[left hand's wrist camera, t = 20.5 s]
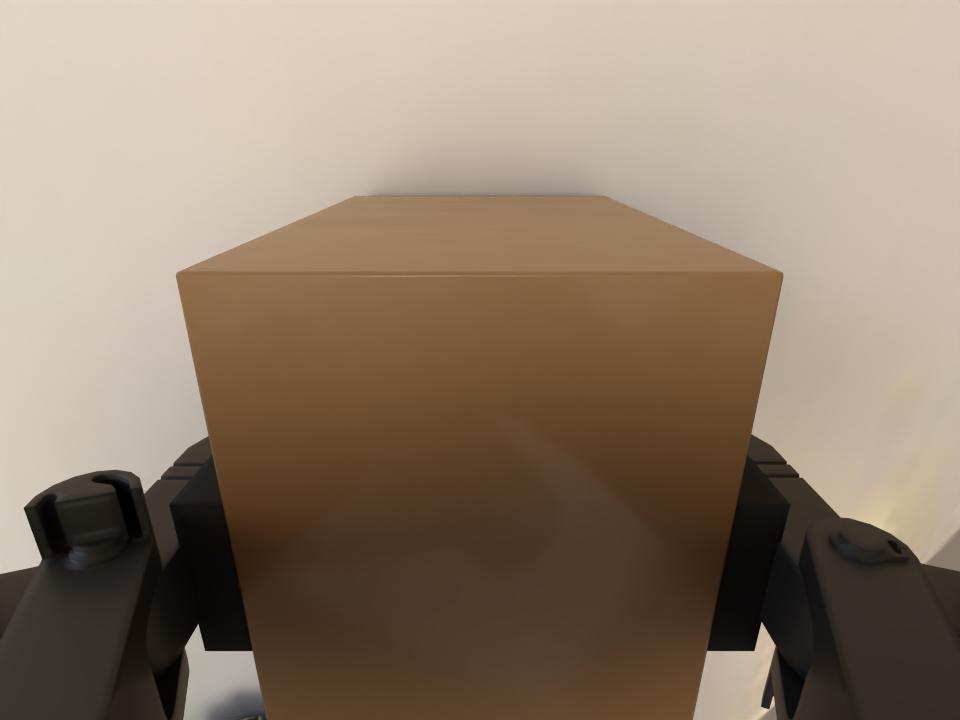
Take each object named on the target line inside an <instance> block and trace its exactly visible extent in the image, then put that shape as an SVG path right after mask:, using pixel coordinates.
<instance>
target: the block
mask: <svg viewBox="0 0 960 720" xmlns="http://www.w3.org/2000/svg"><path fill="white" fill-rule="evenodd" d="M176 278H177V283H178V288H179V293H180V298H181V303H182V308H183V313H184V317H185V322H186V327H187V332H188V337H189V342H190V347H191V352H192V357H193V361H194V366H195V371H196V376H197V381H198V386H199V391H200V396H201V401H202V405H203V410H204V415H205V420H206V425H207V430H208V435H209V440H210V444H211V449H212V454H213V459H214V464H215V469H216V474H217V479H218V484H219V488H220V493H221V498H222V503H223V508H224V513H225V518H226V523H227V528H228V532H229V537H230V542H231V547H232V552H233V557H234V562H235V567H236V571H237V576H238V581H239V586H240V591H241V596H242V601H243V606H244V611H245V615H246V620H247V625H248V630H249V635H250V640H251V645H252V650H253V655H254V659H255V664H256V669H257V674H258V679H259V684H260V689H261V694H262V698H263V703H264V708H265V713H266V718H267V720H693V716H694V711H695V706H696V701H697V697H698V692H699V687H700V682H701V677H702V672H703V667H704V662H705V657H706V653H707V648H708V643H709V638H710V633H711V628H712V623H713V618H714V613H715V608H716V604H717V599H718V594H719V589H720V584H721V579H722V574H723V569H724V564H725V560H726V555H727V550H728V545H729V540H730V535H731V530H732V525H733V520H734V515H735V511H736V506H737V501H738V496H739V491H740V486H741V481H742V476H743V471H744V467H745V462H746V457H747V452H748V447H749V442H750V437H751V432H752V427H753V422H754V418H755V413H756V408H757V403H758V398H759V393H760V388H761V383H762V378H763V374H764V369H765V364H766V359H767V354H768V349H769V344H770V339H771V334H772V329H773V325H774V320H775V315H776V310H777V305H778V300H779V295H780V290H781V285H782V281H783V273H782V272H780V271H778V270H776V269H773V268H771V267H769V266H766V265H764V264H762V263H759V262H757V261H755V260H752V259H750V258H748V257H745V256H743V255H741V254H738V253H736V252H734V251H731V250H729V249H727V248H724V247H722V246H720V245H717V244H715V243H713V242H710V241H708V240H706V239H703V238H701V237H699V236H696V235H694V234H692V233H689V232H687V231H685V230H682V229H680V228H678V227H675V226H673V225H671V224H668V223H666V222H664V221H661V220H659V219H657V218H654V217H652V216H650V215H647V214H645V213H643V212H640V211H638V210H636V209H633V208H631V207H629V206H626V205H624V204H622V203H619V202H617V201H615V200H612V199H610V198H608V197H605V196H354V197H352V198H350V199H347V200H345V201H343V202H340V203H338V204H336V205H333V206H331V207H329V208H326V209H324V210H322V211H319V212H317V213H315V214H312V215H310V216H308V217H305V218H303V219H301V220H298V221H296V222H294V223H291V224H289V225H287V226H284V227H282V228H280V229H277V230H275V231H273V232H270V233H268V234H266V235H263V236H261V237H259V238H256V239H254V240H252V241H249V242H247V243H245V244H242V245H240V246H238V247H235V248H233V249H231V250H228V251H226V252H224V253H221V254H219V255H217V256H214V257H212V258H210V259H207V260H205V261H203V262H200V263H198V264H196V265H193V266H191V267H189V268H186V269H184V270H182V271H179V272H177V274H176Z"/></svg>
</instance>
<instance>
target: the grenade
mask: <svg viewBox="0 0 960 720" xmlns="http://www.w3.org/2000/svg"><path fill="white" fill-rule="evenodd" d="M235 720H267V718H265V717H262V716H260V715H258V716H252V717H246V718H240V719H235Z"/></svg>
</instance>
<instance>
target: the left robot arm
mask: <svg viewBox="0 0 960 720" xmlns="http://www.w3.org/2000/svg"><path fill="white" fill-rule="evenodd" d="M24 510H25V513H26V516H27V519H28V521H29V524H30V527H31V530H32V532H33V535H34V538H35V541H36V543H37V546H38V549H39V552H40V554H41V557H42V561H41V563H40V565H39V566H37V567H33V568H28V569H23V570H18V571H13V572H9V573H4V574H0V720H183V716H184V709H185V701H186V693H187V686H188V678H189V665H188V658H187V655H186V651H185V646H186V644H187V642H188V640H189V639H190V637H191V635H192V634H193V632H194V630H195V628H196V627H197V625H198V624H199V628H200V632H201V636H202V640H203V644H204V648H205V651H253V650H252V645H251V640H250V635H249V630H248V625H247V620H246V615H245V611H244V606H243V601H242V596H241V591H240V586H239V581H238V576H237V571H236V567H235V562H234V557H233V552H232V547H231V542H230V537H229V532H228V528H227V523H226V518H225V513H224V508H223V503H222V498H221V493H220V488H219V484H218V479H217V474H216V469H215V464H214V459H213V454H212V449H211V444H210V440H209V436H208V437H206V438H205V439H203V440H201V441H199V442H198V443H196V444H194V445H193V446H191V447H189V448H188V449H187V450H186V451H185V452H184V453H183V454H182V455H181V456H180V457H179V458H178V459H177V460H176V461H175V462H174V463H173V467H170V468H169V469H168V470H167V471H166V472H165V473H164V474H163V475H162V476H161V480H157V481H156V482H155V483H154V484H153V485H152V487H151V488H150V489H149V490H148V491H147V492H146V493H145V494H144V493H143V489H142V485H141V481H140V478H139V477H137V476H136V475H134V474H133V473H132V472H127V471H120V470H108V471H96V472H92V473H88V474H84V475H80V476H76V477H73V478H70V479H68V480H65V481H63V482H60V483H58V484H55V485H53V486H51V487H50V488H48V489H46V490H45V491H43V492H42V493H40V494H38V495H37V496H35V497H34V498H33V499H32V500H31V501H30V502H29V503H28V504H27V505H26V506H25V507H24ZM761 622H762V623H763V625H764V626H765V628H766V630H767V631H768V633H769V635H770V636H771V638H772V640H773V642H774V643H775V645H776V647H775V651H774V655H773V658H772V662H771V666H770V670H769V673H768V677H767V681H766V685H765V689H764V692H763V697H762V704H761V707H763V708H767V709H769V708H770V704H771V701H772V697H773V696H774V700H775V707H776V715H777V720H960V572H959V571H954V570H949V569H944V568H940V567H935V566H930V565H925V564H921V563H920V562H919V560H918V558H917V557H916V556H915V554H914V553H913V552H912V551H911V550H910V548H909V547H908V546H907V545H906V544H904V543H903V542H901V541H900V540H899V539H897V538H896V537H894V536H893V535H892V534H890V533H888V532H886V531H884V530H881V529H879V528H877V527H875V526H873V525H871V524H867V523H864V522H860V521H857V520H853V519H850V518H840V517H839V516H838V514H837V513H836V512H835V511H834V510H833V509H832V508H831V507H830V506H829V505H828V504H827V503H826V502H825V501H824V500H823V499H822V498H821V497H820V496H819V495H818V494H817V493H816V492H815V491H814V490H813V488H812V487H811V486H810V485H809V484H808V483H807V482H806V481H805V480H804V479H803V478H799V474H798V473H797V472H796V471H795V470H794V469H793V468H792V467H791V466H790V465H787V461H786V460H785V459H784V458H783V457H782V456H781V455H780V454H779V453H778V452H777V451H776V450H775V449H774V448H773V447H772V446H771V445H769V444H767V443H766V442H764V441H762V440H760V439H759V438H757V437H755V436H753V435H752V434H751V437H750V442H749V447H748V452H747V457H746V462H745V467H744V471H743V476H742V481H741V486H740V491H739V496H738V501H737V506H736V511H735V515H734V520H733V525H732V530H731V535H730V540H729V545H728V550H727V555H726V560H725V564H724V569H723V574H722V579H721V584H720V589H719V594H718V599H717V604H716V608H715V613H714V618H713V623H712V628H711V633H710V638H709V643H708V648H707V651H754V650H755V646H756V642H757V638H758V634H759V630H760V626H761Z"/></svg>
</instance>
